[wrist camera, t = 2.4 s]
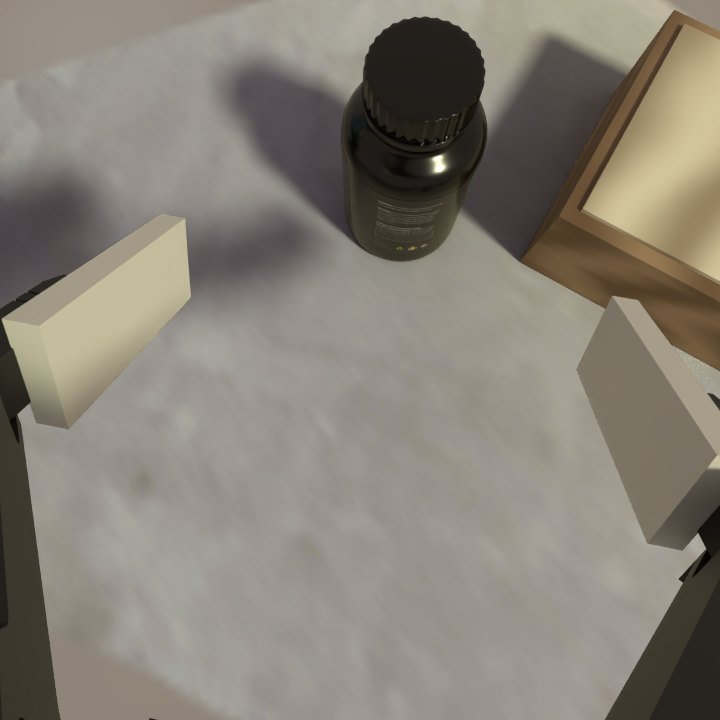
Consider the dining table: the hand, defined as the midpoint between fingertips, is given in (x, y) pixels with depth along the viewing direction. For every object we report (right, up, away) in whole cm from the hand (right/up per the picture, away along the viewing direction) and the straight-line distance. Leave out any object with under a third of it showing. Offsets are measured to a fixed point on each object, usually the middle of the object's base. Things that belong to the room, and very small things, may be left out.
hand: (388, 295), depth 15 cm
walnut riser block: (+19, +6, +15) cm, 25 cm away
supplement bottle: (+2, +7, +16) cm, 17 cm away
